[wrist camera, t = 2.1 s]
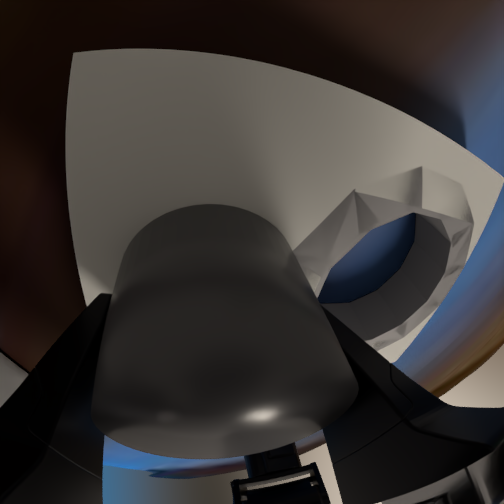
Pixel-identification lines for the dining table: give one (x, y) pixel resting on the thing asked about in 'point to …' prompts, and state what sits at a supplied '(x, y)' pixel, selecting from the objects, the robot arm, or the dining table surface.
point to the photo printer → (9, 378)
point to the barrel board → (269, 173)
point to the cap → (216, 341)
